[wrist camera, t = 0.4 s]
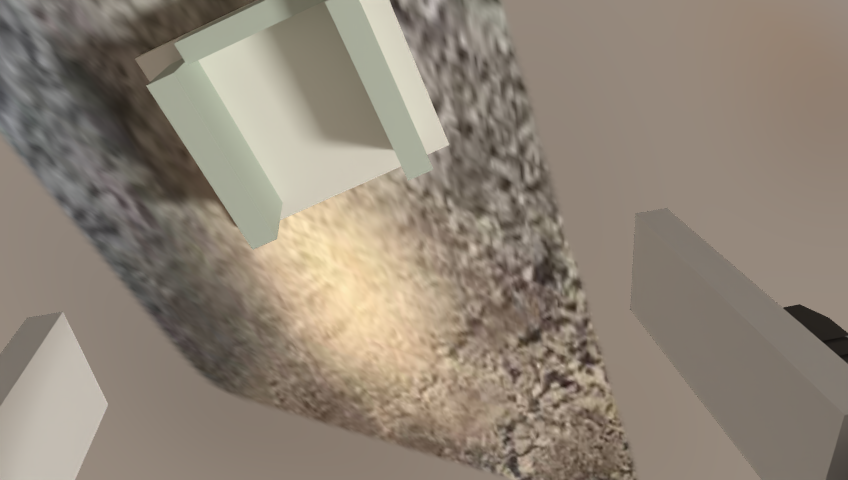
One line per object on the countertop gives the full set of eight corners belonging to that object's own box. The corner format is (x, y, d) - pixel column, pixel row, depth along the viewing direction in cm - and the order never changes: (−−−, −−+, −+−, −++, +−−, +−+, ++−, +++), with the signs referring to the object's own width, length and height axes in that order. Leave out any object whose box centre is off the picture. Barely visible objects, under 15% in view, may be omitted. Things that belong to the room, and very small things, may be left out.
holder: (139, 55, 34) (105, 79, 29) (366, -52, 34) (373, -47, 28) (249, 227, 40) (238, 274, 35) (446, 139, 39) (464, 173, 34)
